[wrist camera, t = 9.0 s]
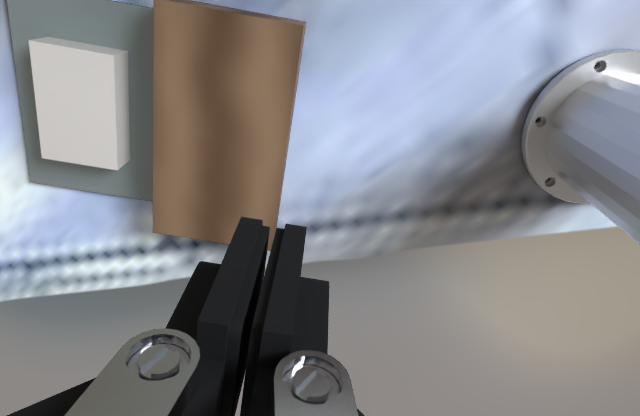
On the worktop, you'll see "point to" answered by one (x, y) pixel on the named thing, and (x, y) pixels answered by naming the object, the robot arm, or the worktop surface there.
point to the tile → (81, 102)
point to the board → (220, 117)
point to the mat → (138, 39)
